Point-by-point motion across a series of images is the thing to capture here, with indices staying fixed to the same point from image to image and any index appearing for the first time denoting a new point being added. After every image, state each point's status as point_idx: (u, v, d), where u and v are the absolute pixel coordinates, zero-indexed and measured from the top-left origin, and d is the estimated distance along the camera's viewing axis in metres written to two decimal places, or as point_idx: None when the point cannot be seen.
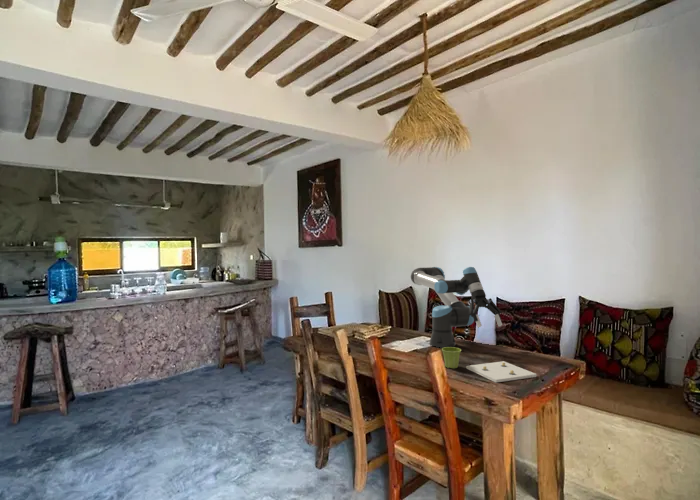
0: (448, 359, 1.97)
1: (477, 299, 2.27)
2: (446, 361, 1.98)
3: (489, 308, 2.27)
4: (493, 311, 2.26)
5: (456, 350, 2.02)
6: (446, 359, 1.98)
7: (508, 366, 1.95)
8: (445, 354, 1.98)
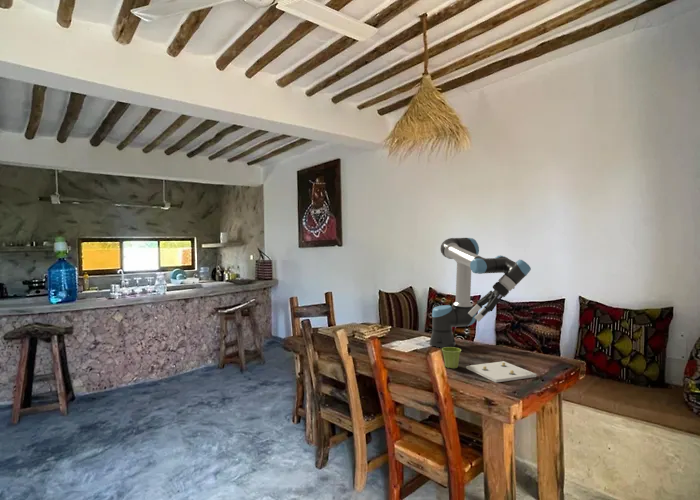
0: (448, 359, 1.97)
1: None
2: (446, 361, 1.98)
3: (486, 300, 2.02)
4: (482, 303, 2.04)
5: (456, 350, 2.02)
6: (446, 359, 1.98)
7: (508, 366, 1.95)
8: (445, 354, 1.98)
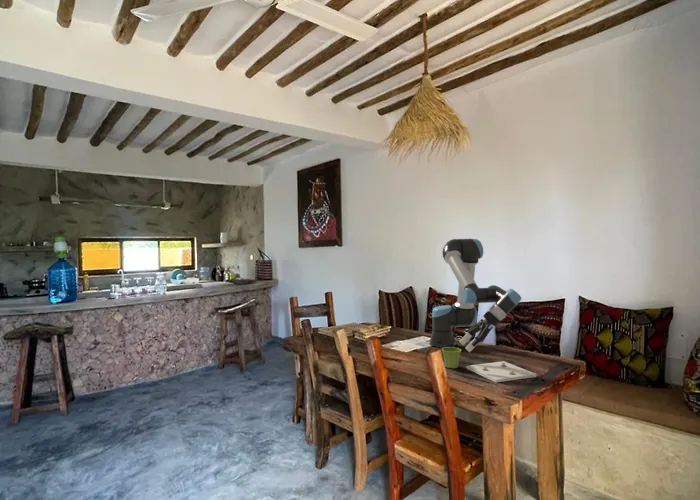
0: (448, 359, 1.97)
1: None
2: (446, 361, 1.98)
3: (477, 329, 2.02)
4: (473, 332, 2.03)
5: (456, 350, 2.02)
6: (446, 359, 1.98)
7: (508, 366, 1.95)
8: (445, 354, 1.98)
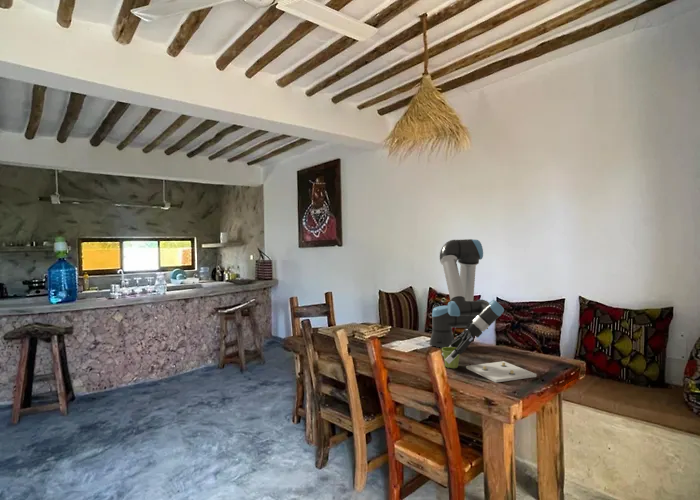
0: None
1: None
2: (446, 361, 1.98)
3: (459, 341, 2.02)
4: (456, 344, 2.04)
5: None
6: None
7: (508, 366, 1.95)
8: (445, 354, 1.98)
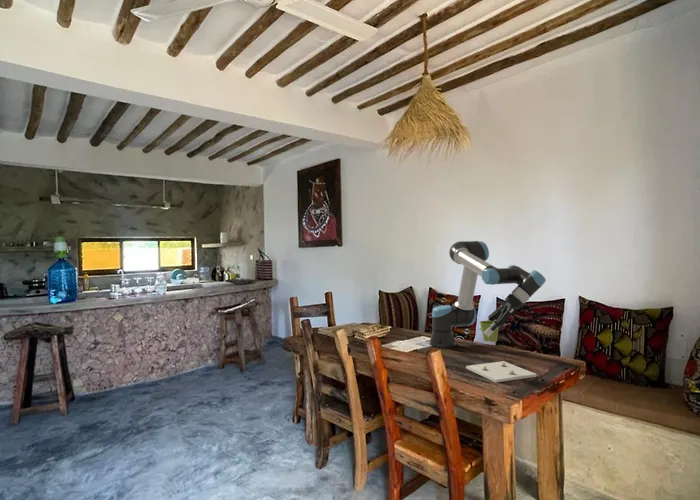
0: None
1: None
2: (485, 335, 1.89)
3: (498, 314, 1.93)
4: (494, 317, 1.94)
5: None
6: None
7: (508, 366, 1.95)
8: (483, 327, 1.89)
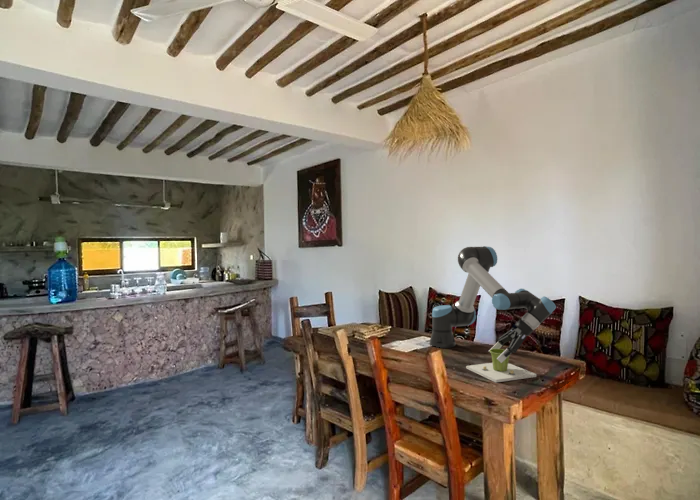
0: (497, 361, 1.87)
1: None
2: (495, 364, 1.88)
3: (508, 338, 1.93)
4: (504, 341, 1.95)
5: None
6: (495, 361, 1.88)
7: (508, 366, 1.95)
8: (494, 356, 1.88)
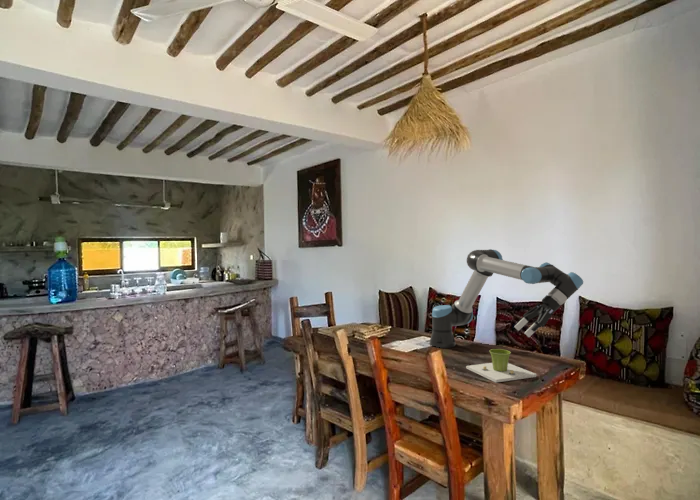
0: (497, 362, 1.87)
1: None
2: (495, 364, 1.88)
3: (534, 314, 1.94)
4: (530, 317, 1.96)
5: (504, 352, 1.92)
6: (495, 362, 1.88)
7: (508, 366, 1.95)
8: (494, 356, 1.88)
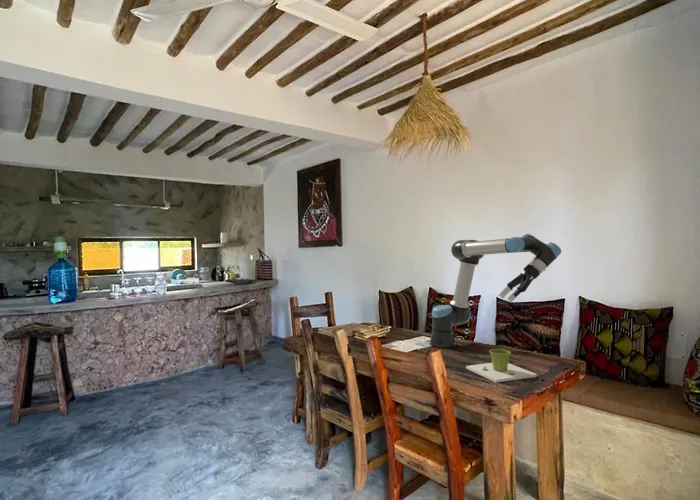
0: (497, 362, 1.87)
1: None
2: (495, 364, 1.88)
3: (516, 282, 2.08)
4: (513, 285, 2.10)
5: (504, 352, 1.92)
6: (495, 362, 1.88)
7: (508, 366, 1.95)
8: (494, 356, 1.88)
